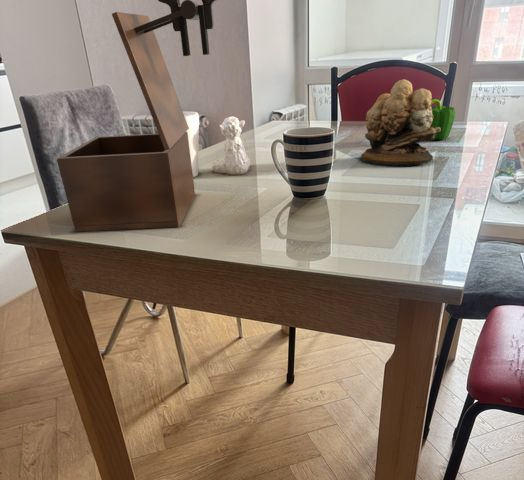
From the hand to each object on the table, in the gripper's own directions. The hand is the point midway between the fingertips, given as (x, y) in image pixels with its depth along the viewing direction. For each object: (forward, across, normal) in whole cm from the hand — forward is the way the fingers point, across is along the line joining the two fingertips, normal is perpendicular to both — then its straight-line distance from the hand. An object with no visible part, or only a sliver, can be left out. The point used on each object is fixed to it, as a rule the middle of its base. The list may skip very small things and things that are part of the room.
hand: (196, 54), depth 81 cm
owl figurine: (+25, -40, -32) cm, 57 cm away
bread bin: (+25, +14, 0) cm, 28 cm away
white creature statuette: (+25, -2, -29) cm, 38 cm away
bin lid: (+3, +8, 0) cm, 8 cm away
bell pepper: (+25, -55, -56) cm, 83 cm away
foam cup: (+25, +10, -28) cm, 39 cm away
